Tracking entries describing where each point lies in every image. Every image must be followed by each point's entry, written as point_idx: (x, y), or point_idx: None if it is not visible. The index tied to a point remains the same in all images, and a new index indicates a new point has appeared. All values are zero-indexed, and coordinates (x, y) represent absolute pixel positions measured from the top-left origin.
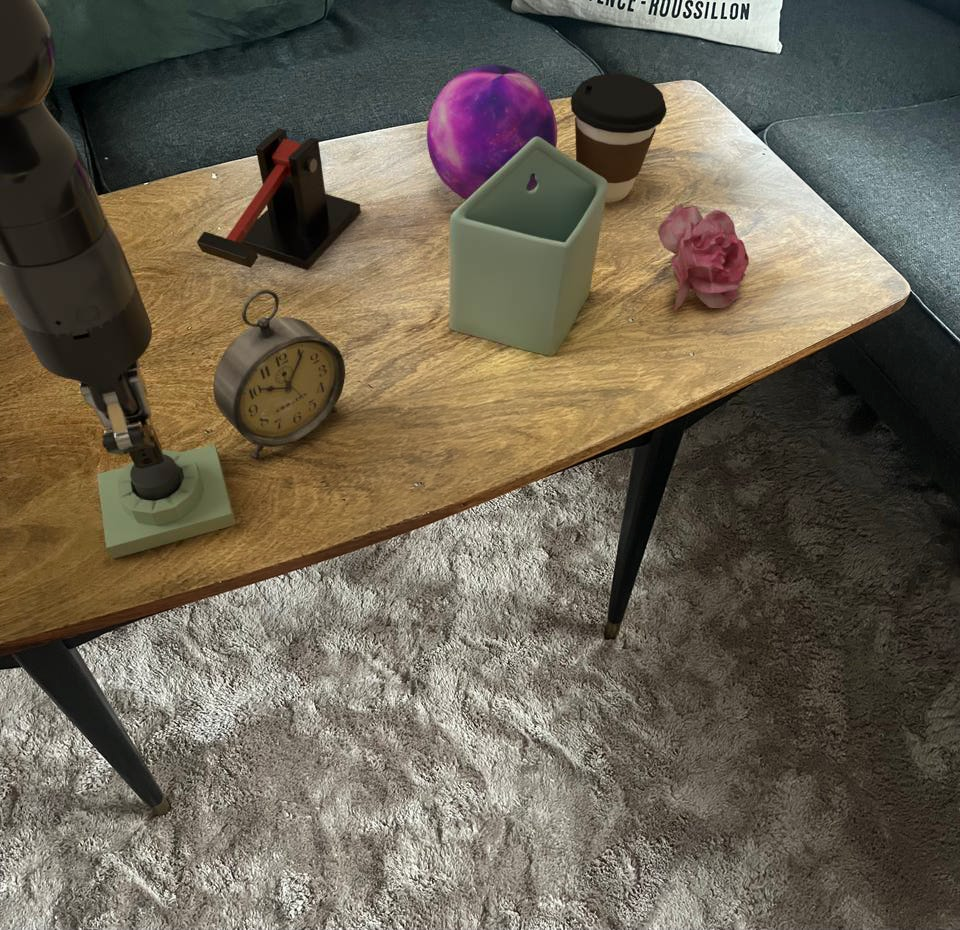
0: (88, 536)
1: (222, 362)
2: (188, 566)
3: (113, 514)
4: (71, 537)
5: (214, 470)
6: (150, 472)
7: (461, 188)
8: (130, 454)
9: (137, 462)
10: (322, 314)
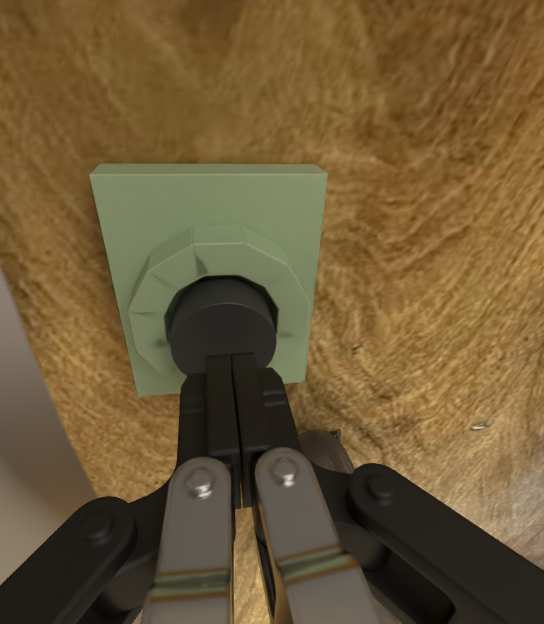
0: (181, 112)
1: (376, 601)
2: (60, 301)
3: (191, 199)
4: (188, 68)
5: None
6: (220, 342)
7: None
8: (207, 395)
9: (180, 400)
10: (474, 474)
